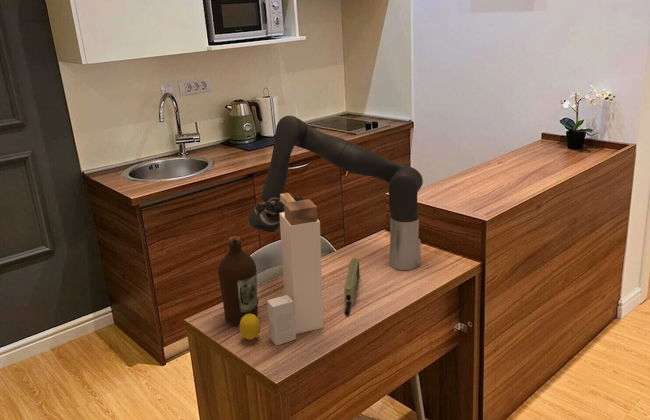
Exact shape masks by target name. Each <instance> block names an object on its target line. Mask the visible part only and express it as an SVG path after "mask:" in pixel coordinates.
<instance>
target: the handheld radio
mask: <svg viewBox="0 0 650 420" xmlns="http://www.w3.org/2000/svg"><path fill="white" fill-rule="evenodd" d="M347 271H348V272H347V276H346V280H345V284H344V301H345V309H344V314H345V315H346V316H348V315H349V314H350V312H351V311H350V310H351V309H352V307H354V306H355V300H356V297H357V294H358V290H359V289H358V288H359V287H358V286H359V282H360V281H359V280H360V276H361V275H360V259H359V258H357V257H353V258H351V260H350V262H349V264H348V270H347Z"/></svg>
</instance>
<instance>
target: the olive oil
mask: <svg viewBox="0 0 650 420" xmlns="http://www.w3.org/2000/svg"><path fill="white" fill-rule="evenodd" d="M228 248H229V251H228V252H227V253H226V254H225V255H224V256H223V258H221V260H220V262H219V265H218V269H217V275H218V279H219V287H220V292H221V293H220V294H221V298H222V304H223V305H222V306H223V312H224V320H225V321H226V323H227V324H229V325H232V326H237V327H238V326H239V327H240V321H241V319H242V317H243V316H245V315H246V314H253V315H255V316H256V317H257V318H258V316H259V312H258V311H259V310H258V309H259V307H258V305H259V298H258V278H257V277H258V276H257V275H258V274H257V273H258V270H257V265H256V262H255V260H254V259H253V258H252V256H250V255H249V254H248V253H247V252H245V251H244V250H243V249H242V241H241V237H240V236H238V235H233V236H230V237H229V238H228Z"/></svg>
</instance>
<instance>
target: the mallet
mask: <svg viewBox="0 0 650 420" xmlns="http://www.w3.org/2000/svg"><path fill="white" fill-rule="evenodd" d="M280 201H281V202H282V203H283V204H284V211H285V218H286V219H287V221H288V222H289V223H290V224H291V225H297V224H304V223H310V222H316V221H317V219H318V206H317V205H316V204H315V203H314V202H313V201H312V200H311V199H303V200H301V201H295V200H294V197H293V196H292V195H291V194H290V193H289V192H284V193H283V194H280Z"/></svg>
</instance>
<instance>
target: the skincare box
mask: <svg viewBox="0 0 650 420" xmlns="http://www.w3.org/2000/svg"><path fill="white" fill-rule="evenodd" d="M266 307H267V315H268V317H267V318H268V328H269V338H270V341H272V343H273V344H274V345H275V346H279V345H282V344H286V343H289V342H291V341H295V340H296V339H297V337H296V335H297V334H296V333H295V318H294V303H293V300H292V299H291V298H290V297H289V296H288V295H282V296H278V297H275V298H274V297H273V298H270V299H268V300H266Z"/></svg>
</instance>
